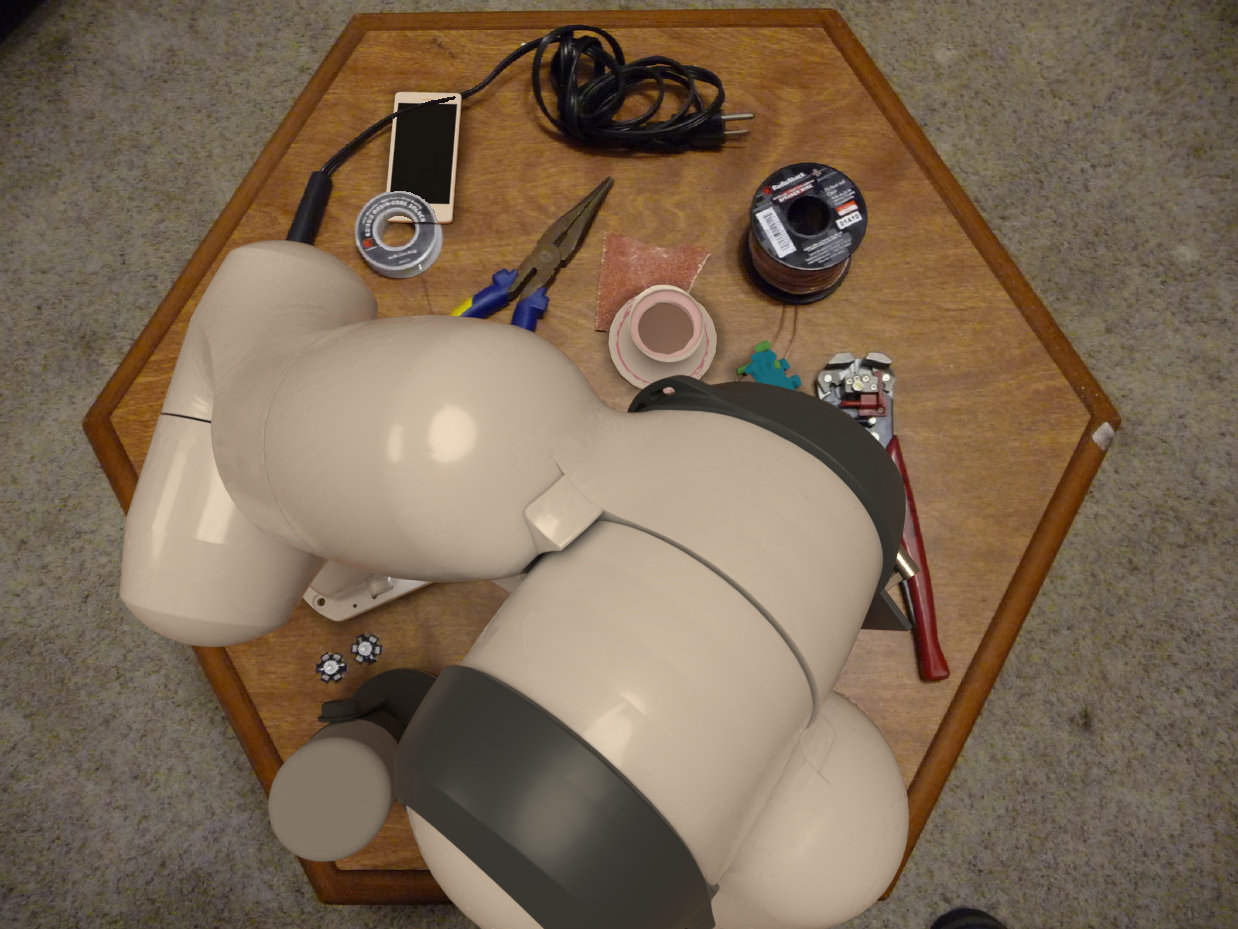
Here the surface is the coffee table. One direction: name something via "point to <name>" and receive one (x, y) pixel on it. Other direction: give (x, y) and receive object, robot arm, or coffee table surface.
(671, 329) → the teacup
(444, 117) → the cell phone
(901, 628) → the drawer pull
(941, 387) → the coffee table surface
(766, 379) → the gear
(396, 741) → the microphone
